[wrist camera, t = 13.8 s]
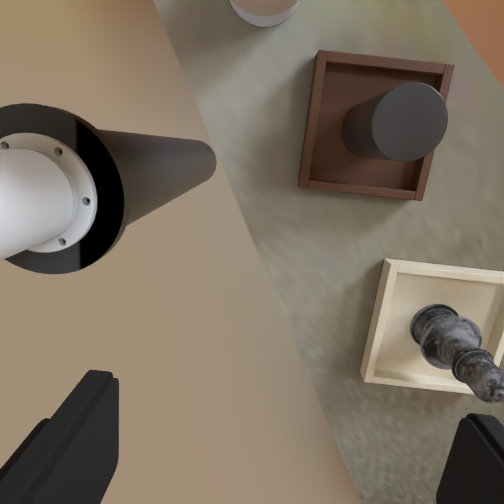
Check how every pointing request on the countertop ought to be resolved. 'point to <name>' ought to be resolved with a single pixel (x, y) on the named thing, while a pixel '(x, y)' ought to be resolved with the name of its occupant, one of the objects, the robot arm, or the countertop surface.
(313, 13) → the countertop surface
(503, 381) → the marbled chess pawn
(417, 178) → the dark tray
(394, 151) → the dark gray cylinder
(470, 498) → the robot arm
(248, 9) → the coffee cup
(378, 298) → the light tray
